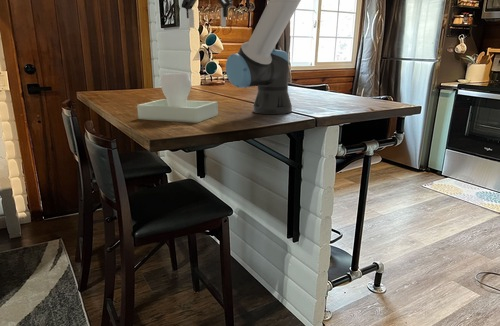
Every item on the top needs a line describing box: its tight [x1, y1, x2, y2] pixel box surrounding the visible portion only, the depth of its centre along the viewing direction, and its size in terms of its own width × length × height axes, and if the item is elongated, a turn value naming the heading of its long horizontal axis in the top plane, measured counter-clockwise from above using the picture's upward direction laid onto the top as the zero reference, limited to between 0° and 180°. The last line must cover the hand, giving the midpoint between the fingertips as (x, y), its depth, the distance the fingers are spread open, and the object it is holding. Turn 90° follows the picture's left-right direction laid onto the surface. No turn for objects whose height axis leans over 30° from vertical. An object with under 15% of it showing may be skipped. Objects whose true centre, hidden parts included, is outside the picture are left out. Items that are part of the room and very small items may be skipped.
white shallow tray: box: [136, 98, 219, 124], centre depth 140 cm, size 24×16×5 cm, turn 69°
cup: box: [160, 72, 192, 107], centre depth 139 cm, size 11×11×15 cm
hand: (207, 27), depth 147 cm, fingers open, 13 cm apart
